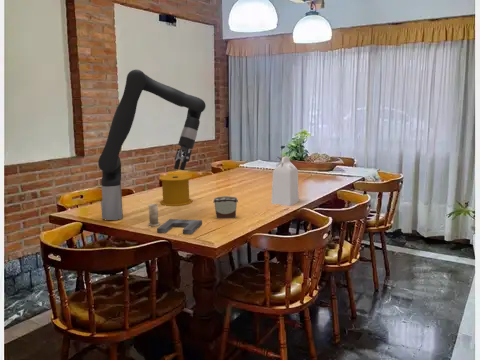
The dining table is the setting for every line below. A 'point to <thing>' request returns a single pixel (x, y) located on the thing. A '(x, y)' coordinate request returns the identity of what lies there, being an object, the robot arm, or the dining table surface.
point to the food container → (225, 207)
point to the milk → (285, 184)
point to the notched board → (180, 225)
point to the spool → (175, 190)
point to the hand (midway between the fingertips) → (178, 169)
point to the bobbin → (153, 215)
